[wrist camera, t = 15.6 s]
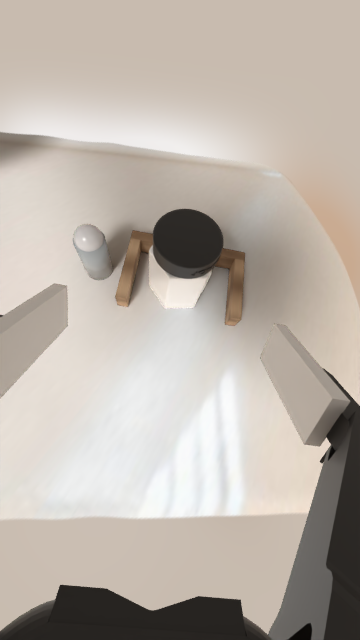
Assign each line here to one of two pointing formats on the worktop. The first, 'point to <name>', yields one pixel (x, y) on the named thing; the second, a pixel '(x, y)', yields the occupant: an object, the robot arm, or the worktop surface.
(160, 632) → the robot arm
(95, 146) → the worktop surface
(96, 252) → the shaker
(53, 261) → the worktop surface
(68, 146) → the worktop surface
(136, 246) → the dock
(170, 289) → the jar
